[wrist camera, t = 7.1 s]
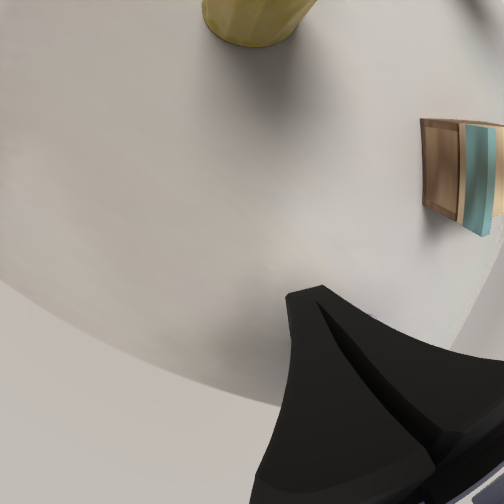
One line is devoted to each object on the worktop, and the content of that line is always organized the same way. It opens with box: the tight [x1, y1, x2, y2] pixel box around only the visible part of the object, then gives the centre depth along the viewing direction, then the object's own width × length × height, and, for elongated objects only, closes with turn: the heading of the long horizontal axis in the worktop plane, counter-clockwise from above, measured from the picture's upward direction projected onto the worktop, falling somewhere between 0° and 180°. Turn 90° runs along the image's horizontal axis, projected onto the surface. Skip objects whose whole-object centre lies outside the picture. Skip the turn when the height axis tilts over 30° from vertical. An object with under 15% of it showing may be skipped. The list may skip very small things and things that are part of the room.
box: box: [420, 118, 504, 221], centre depth 17 cm, size 7×9×4 cm
